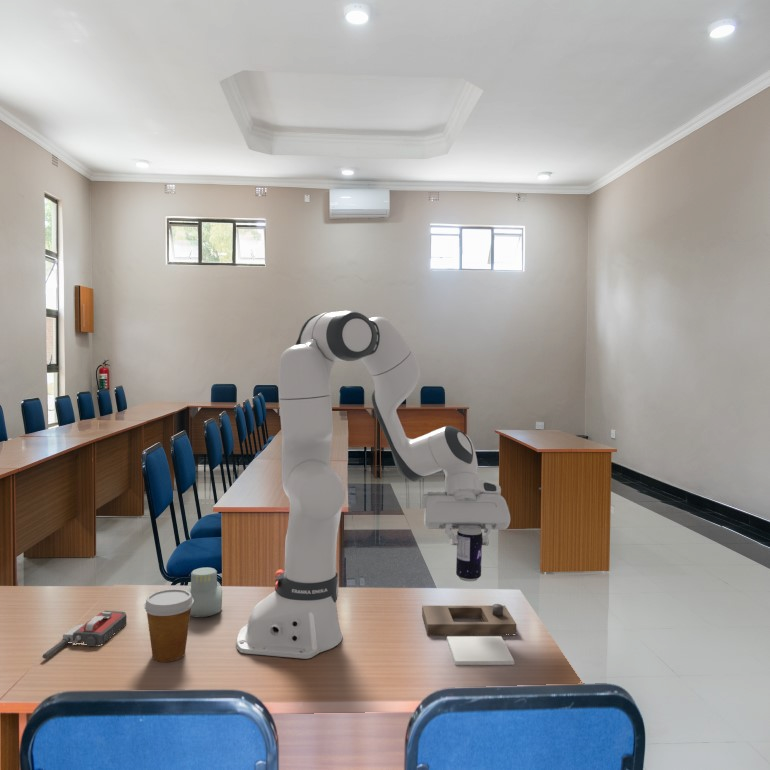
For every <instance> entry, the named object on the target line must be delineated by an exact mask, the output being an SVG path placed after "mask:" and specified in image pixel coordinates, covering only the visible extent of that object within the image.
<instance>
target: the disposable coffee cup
mask: <svg viewBox="0 0 770 770" xmlns="http://www.w3.org/2000/svg"><path fill="white" fill-rule="evenodd" d="M187 590H188V589H182V588H181V589H180V588H170V589H162V590H159V591H155V592H153V593H151V594H149V595H148V596H147V597H146V601H145V602H144V605H143V607H144V609H145V612H146V617H147V625H148V632H149V639H150V647H151V654H152V659H153V660H154V661H156V662H159V661H160V663H168V662H167V661H169V662H174V661H176V660H180V659H181V658H182V656H183V655H184V656H185V654H186V649H187V641H188V633H189V625H190V617H191V615H190V612H191V607H192V604H193V602H194V599H193V598H192V595H191V593H190V592H189V591H187ZM184 656H183V657H184ZM173 660H174V661H173Z"/></svg>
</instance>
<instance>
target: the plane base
mask: <svg viewBox="0 0 770 770" xmlns="http://www.w3.org/2000/svg"><path fill="white" fill-rule="evenodd" d="M421 607H422V609H421V616H422V621H423V625H424V628H425V632H426V636H513V635H512V634H516V635H517V623H516V621H515V619H514V618H513V616H512V614H511V613H510V611H509V610H508V608H507V607H506V605H503V604H499V603H495V604H492V605H421ZM454 619H481V621H454ZM506 634H507V635H506ZM508 634H509V635H508ZM510 634H511V635H510Z"/></svg>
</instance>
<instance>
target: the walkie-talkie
mask: <svg viewBox="0 0 770 770" xmlns="http://www.w3.org/2000/svg"><path fill="white" fill-rule="evenodd" d="M125 624H126V625H127V614H126V612H125V611H121V610H120V611H119V610H104V611H101V612H99V613H98V614H96V615H95V616H93V617H92V618H91V619H90V620H88V621H87V622H86V623H82V624H78V625H76V626H73V627H72V628H71V629H69V630H68V631H67V632H65V633H63V635H62V639H61V640H60V641H59V642H58V643H56V644H55V645H54V646H53V647H51V648H50V649H48V651H46V652H45V653H43V654H42V658H43V659H45V660H47V659H48V658H49V657H51V656H52V655H53V654H54V653H55V652H57V651H58V650H59V649H61V648H62V647H64V646H65V644H66V645H67V643H68V642H72V644H73V643H75V644H76V643H83V642H84V644H87V647H89V646H93V647H95V646H94V645H101V644H103V643H104V642H105V641H106V640H108V639H109V638H110V637H111V636H112V635H113V634H114V633H116V632H117V631H118V630H119V629H121V628H122V627H123V626H124V625H125ZM126 625H125V626H126ZM125 626H124V627H125ZM124 627H123V628H124ZM123 628H122V629H123ZM122 629H121V630H122ZM119 631H120V630H119ZM119 631H118V632H119ZM118 632H117V633H118ZM117 633H116V634H117ZM110 639H111V638H110ZM110 639H109V640H110ZM109 640H108V641H109ZM72 644H71V645H72ZM103 645H104V644H103Z"/></svg>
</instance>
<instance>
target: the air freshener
mask: <svg viewBox="0 0 770 770" xmlns="http://www.w3.org/2000/svg"><path fill="white" fill-rule="evenodd" d="M217 574H218V570H216V569H215V568H213V567H210V566H209V567H208V566H207V567H199V568H196V569H193V570H192V571H191V573H190V587H189V588H188V589H186V590H187V591H189V592H190V593H191V595H192V598H193V599H194V602H193V604H192V607H191V612H190V617H191V616H192V617H196V618H205V617H210V616H214V615H215V614H218V613H219V612H221V611H222V608H223V607H222V606H223V588H222V587H221V586H219V585H218V583H217V582H218V576H217Z"/></svg>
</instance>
